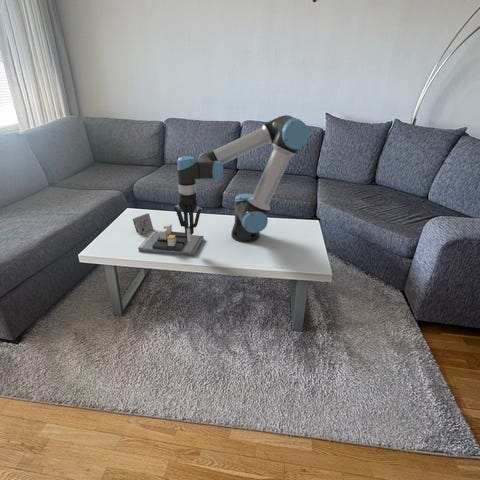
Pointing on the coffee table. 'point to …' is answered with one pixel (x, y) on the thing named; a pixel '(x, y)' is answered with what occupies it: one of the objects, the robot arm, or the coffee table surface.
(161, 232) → the block
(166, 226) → the block
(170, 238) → the block
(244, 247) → the coffee table surface
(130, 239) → the coffee table surface
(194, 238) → the panel
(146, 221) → the electrical switch
